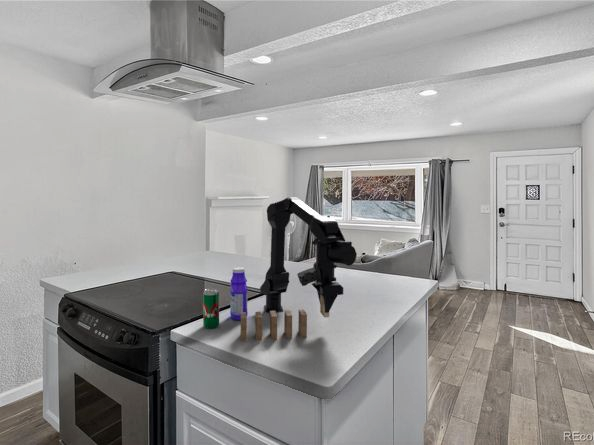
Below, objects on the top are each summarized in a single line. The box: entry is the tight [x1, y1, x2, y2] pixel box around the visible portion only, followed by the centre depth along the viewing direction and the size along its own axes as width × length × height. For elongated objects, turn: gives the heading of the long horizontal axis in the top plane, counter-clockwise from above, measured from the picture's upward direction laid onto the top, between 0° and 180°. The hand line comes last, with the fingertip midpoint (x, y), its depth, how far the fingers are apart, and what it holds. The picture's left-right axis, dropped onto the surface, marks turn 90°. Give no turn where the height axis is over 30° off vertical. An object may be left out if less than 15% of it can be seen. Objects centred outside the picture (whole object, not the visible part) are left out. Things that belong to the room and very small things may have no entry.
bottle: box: [229, 266, 248, 321], centre depth 122 cm, size 7×6×17 cm
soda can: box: [202, 288, 220, 330], centre depth 114 cm, size 5×5×12 cm
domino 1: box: [240, 312, 248, 342], centre depth 105 cm, size 5×2×7 cm, turn 11°
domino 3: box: [269, 311, 278, 340], centre depth 107 cm, size 5×2×7 cm, turn 11°
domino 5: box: [297, 308, 308, 338], centre depth 109 cm, size 5×2×7 cm, turn 11°
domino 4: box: [283, 309, 293, 339], centre depth 108 cm, size 5×2×7 cm, turn 11°
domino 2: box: [254, 310, 263, 341], centre depth 106 cm, size 5×2×7 cm, turn 11°
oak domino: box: [319, 294, 330, 318], centre depth 110 cm, size 5×2×7 cm, turn 11°
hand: (324, 309), depth 110 cm, fingers closed on oak domino, 5 cm apart
